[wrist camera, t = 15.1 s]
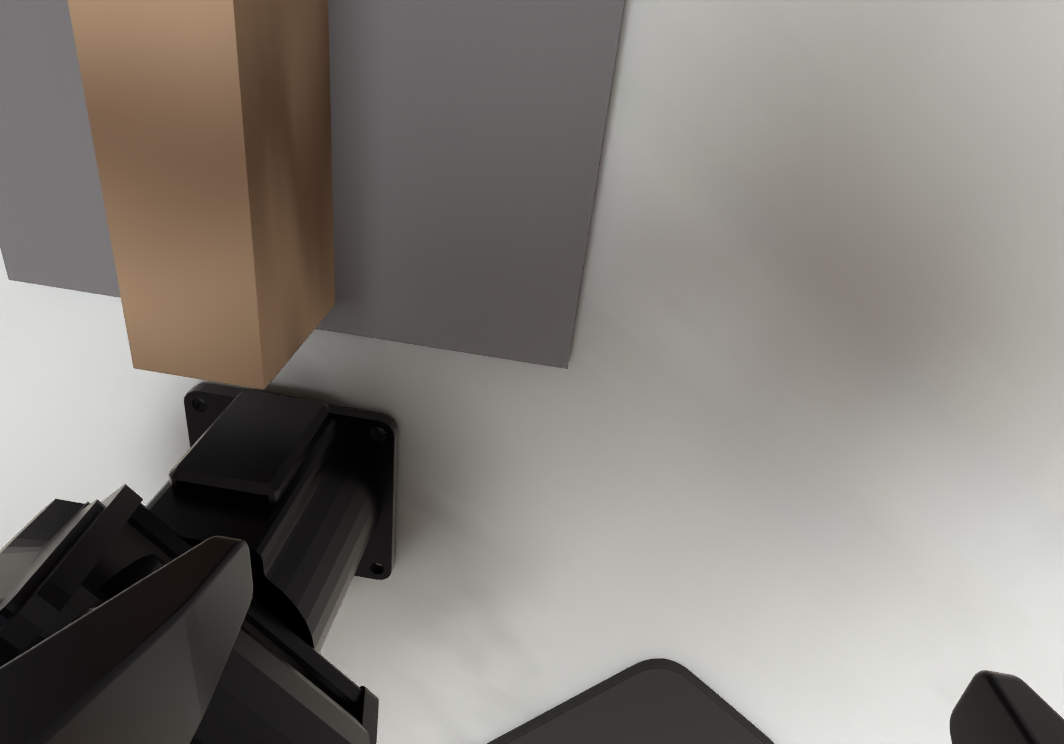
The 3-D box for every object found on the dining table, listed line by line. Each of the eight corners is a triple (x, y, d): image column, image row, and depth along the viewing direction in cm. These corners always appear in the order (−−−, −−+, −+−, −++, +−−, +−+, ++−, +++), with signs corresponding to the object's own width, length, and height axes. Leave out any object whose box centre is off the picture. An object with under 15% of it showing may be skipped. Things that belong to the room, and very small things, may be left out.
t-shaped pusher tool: (498, 330, 20) (449, 463, 15) (71, 262, 21) (-115, 369, 16) (554, -233, 14) (504, -327, 9) (-49, -304, 15) (-412, -429, 10)
